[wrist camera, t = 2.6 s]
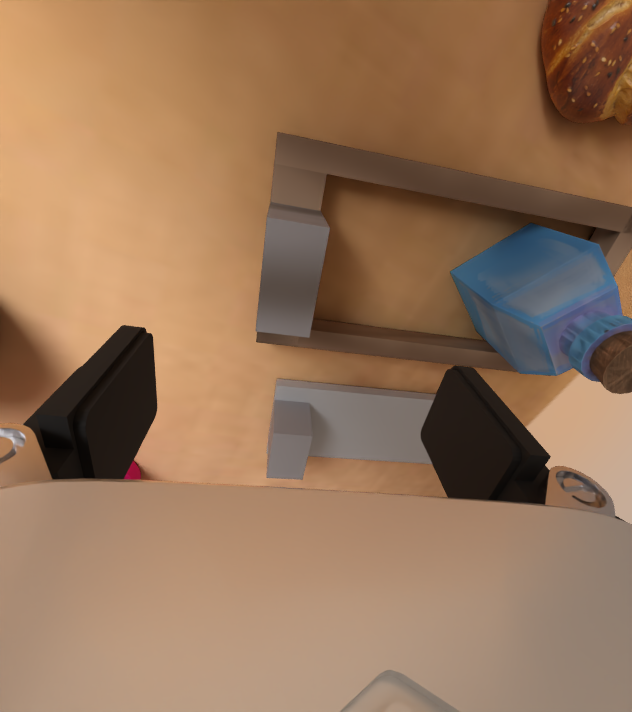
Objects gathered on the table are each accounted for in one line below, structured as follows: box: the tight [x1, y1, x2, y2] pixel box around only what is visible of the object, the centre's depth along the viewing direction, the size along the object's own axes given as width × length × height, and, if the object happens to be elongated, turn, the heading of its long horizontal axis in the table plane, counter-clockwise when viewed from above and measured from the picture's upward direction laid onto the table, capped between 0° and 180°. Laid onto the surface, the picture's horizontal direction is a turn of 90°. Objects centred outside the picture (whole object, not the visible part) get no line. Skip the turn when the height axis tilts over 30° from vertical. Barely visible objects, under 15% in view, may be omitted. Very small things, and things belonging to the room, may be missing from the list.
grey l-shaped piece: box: [267, 379, 436, 480], centre depth 31 cm, size 8×20×5 cm, turn 80°
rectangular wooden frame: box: [256, 132, 632, 376], centre depth 22 cm, size 13×24×7 cm, turn 80°
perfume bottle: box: [450, 223, 632, 394], centre depth 21 cm, size 6×6×12 cm
